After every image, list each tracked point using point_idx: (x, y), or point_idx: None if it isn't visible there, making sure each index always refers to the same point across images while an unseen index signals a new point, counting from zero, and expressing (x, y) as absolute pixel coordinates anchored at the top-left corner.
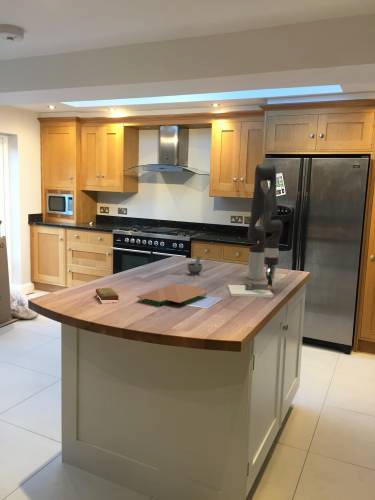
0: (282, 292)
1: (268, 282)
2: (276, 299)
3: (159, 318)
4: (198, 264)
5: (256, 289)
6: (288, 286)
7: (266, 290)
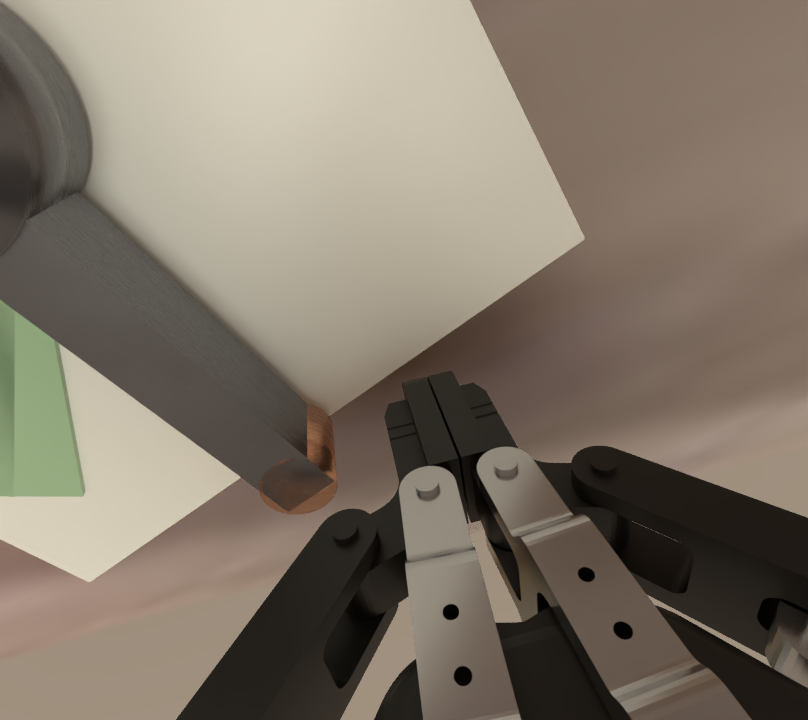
0: None
1: (393, 452)
2: (52, 608)
3: None
4: None
5: None
6: (802, 407)
7: None
